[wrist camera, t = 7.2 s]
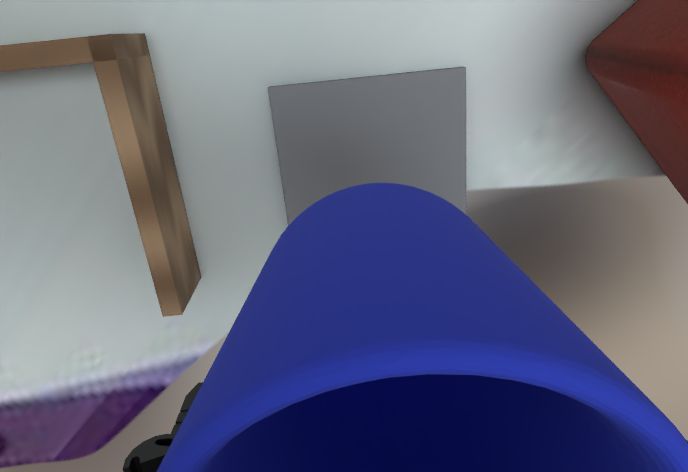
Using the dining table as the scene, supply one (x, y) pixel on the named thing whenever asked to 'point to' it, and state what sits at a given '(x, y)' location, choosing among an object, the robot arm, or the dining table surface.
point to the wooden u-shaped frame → (133, 149)
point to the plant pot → (649, 79)
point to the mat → (372, 135)
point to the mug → (411, 359)
